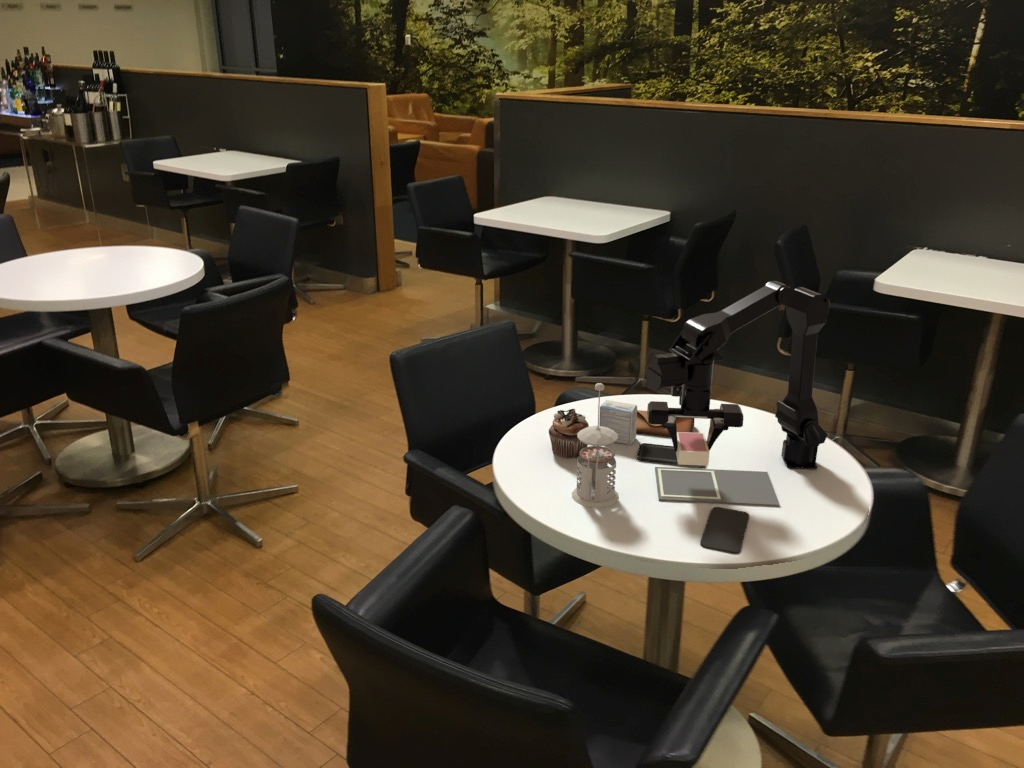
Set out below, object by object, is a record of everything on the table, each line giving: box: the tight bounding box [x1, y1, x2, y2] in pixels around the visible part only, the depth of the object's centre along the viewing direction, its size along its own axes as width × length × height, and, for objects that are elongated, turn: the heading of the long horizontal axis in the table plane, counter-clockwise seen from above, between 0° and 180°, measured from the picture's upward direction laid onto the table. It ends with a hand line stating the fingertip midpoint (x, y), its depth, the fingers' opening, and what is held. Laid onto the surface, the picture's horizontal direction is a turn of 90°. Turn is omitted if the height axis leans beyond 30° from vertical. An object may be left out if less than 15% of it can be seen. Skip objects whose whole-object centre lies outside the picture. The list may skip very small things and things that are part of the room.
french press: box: [571, 382, 620, 509], centre depth 169 cm, size 10×12×25 cm
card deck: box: [676, 432, 710, 467], centre depth 175 cm, size 9×6×3 cm, turn 174°
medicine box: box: [599, 399, 638, 446], centre depth 197 cm, size 8×4×9 cm, turn 65°
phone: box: [699, 506, 750, 555], centre depth 162 cm, size 7×1×15 cm
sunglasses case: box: [636, 409, 695, 438], centre depth 204 cm, size 18×7×7 cm, turn 76°
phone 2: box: [636, 442, 706, 469], centre depth 190 cm, size 8×1×15 cm
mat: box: [654, 466, 781, 507], centre depth 177 cm, size 24×14×1 cm, turn 84°
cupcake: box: [548, 408, 590, 459], centre depth 191 cm, size 10×10×10 cm
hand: (691, 451), depth 175 cm, fingers closed on card deck, 6 cm apart
